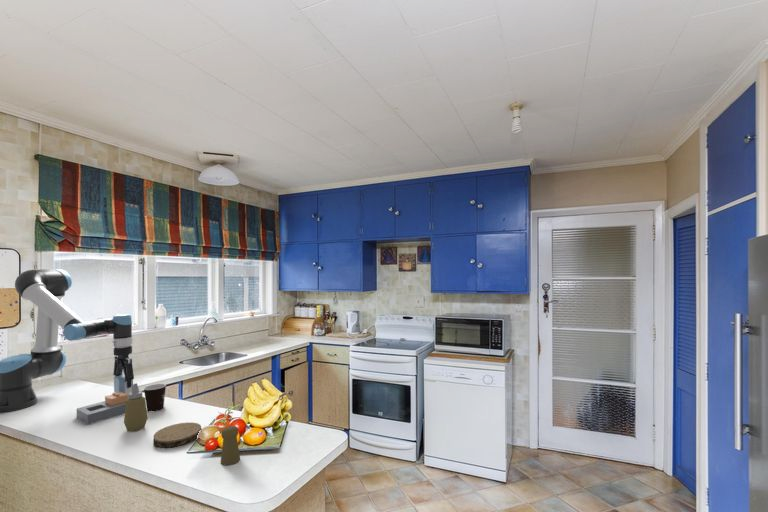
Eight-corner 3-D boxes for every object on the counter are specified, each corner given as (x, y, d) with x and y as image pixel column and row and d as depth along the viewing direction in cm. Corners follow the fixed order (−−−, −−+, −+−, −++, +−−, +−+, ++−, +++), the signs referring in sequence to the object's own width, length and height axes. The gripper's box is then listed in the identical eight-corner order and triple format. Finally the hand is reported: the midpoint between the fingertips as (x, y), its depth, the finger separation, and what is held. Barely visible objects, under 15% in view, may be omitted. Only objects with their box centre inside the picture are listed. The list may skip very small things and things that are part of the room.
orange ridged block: (110, 405, 171) (110, 397, 171) (105, 403, 175) (104, 394, 175) (127, 401, 176) (127, 392, 176) (121, 398, 180) (121, 390, 180)
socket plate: (87, 424, 161) (87, 414, 161) (76, 417, 169) (76, 408, 169) (135, 410, 176) (135, 401, 176) (123, 404, 183) (123, 396, 183)
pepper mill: (223, 457, 131) (223, 424, 131) (242, 455, 132) (241, 422, 132) (217, 466, 125) (217, 431, 125) (237, 465, 126) (236, 430, 126)
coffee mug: (156, 413, 172) (155, 390, 172) (139, 412, 173) (139, 389, 174) (175, 403, 183) (175, 382, 183) (159, 402, 185) (159, 381, 185)
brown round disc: (168, 453, 135) (168, 444, 135) (144, 443, 144) (144, 434, 144) (210, 435, 149) (210, 427, 149) (186, 426, 157) (186, 419, 157)
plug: (114, 400, 189) (113, 376, 190) (128, 396, 194) (127, 373, 194) (119, 402, 186) (119, 378, 186) (133, 399, 191) (132, 375, 191)
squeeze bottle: (152, 426, 158) (151, 381, 158) (134, 434, 150) (133, 387, 150) (137, 423, 161) (137, 379, 161) (118, 432, 153) (118, 386, 153)
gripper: (104, 345, 194) (105, 390, 194) (124, 350, 181) (124, 398, 181) (121, 342, 200) (122, 386, 200) (141, 347, 187) (142, 394, 187)
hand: (123, 392), depth 190 cm, fingers open, 10 cm apart
